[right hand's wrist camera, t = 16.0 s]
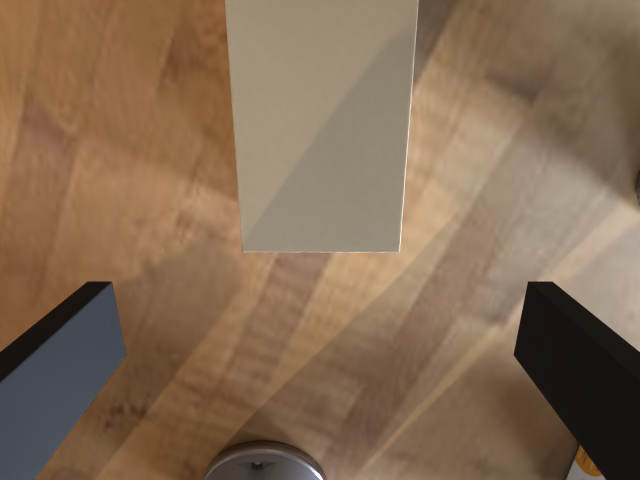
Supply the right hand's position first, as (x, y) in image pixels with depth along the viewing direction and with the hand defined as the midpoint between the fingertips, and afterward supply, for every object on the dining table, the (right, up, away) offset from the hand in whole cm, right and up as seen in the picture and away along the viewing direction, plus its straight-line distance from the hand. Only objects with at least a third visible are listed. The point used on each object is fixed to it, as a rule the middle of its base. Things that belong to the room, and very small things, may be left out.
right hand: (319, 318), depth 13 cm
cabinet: (0, +14, +21) cm, 25 cm away
